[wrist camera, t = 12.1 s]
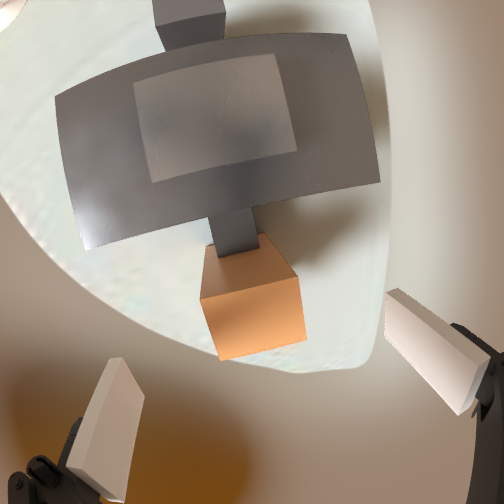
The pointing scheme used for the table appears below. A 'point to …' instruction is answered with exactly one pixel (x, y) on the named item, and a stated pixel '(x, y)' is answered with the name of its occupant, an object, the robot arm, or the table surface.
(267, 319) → the grey orange-ended bar
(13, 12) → the champagne flute
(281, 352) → the table surface
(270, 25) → the table surface
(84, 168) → the grey u-shaped bracket
